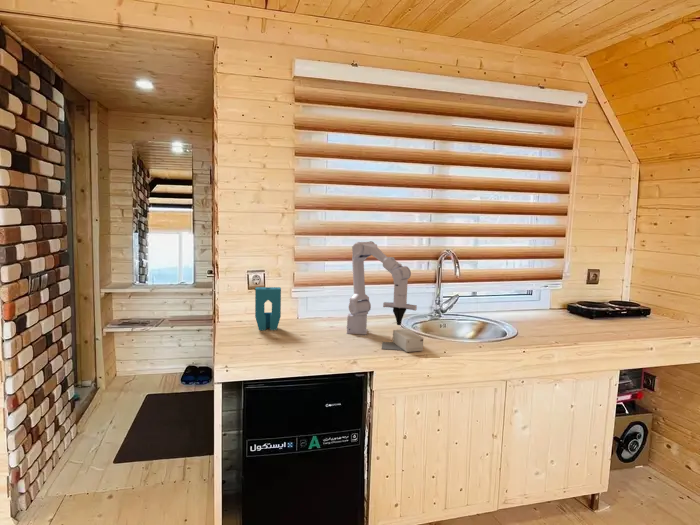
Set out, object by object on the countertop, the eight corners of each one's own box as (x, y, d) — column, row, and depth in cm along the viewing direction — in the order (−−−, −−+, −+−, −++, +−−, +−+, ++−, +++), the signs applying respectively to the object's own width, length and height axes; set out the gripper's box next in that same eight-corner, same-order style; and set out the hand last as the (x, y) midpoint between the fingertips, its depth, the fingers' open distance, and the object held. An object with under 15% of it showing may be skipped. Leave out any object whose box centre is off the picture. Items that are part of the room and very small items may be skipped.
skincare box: (392, 341, 207) (405, 353, 193) (392, 329, 206) (405, 339, 192) (409, 340, 209) (423, 351, 195) (410, 328, 209) (424, 338, 194)
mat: (381, 349, 197) (381, 348, 197) (382, 342, 207) (382, 341, 207) (414, 351, 196) (414, 350, 196) (413, 344, 205) (413, 343, 205)
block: (280, 327, 226) (280, 287, 224) (280, 330, 221) (280, 289, 219) (255, 327, 224) (255, 287, 222) (255, 330, 219) (255, 289, 217)
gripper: (418, 294, 202) (416, 324, 204) (386, 291, 206) (385, 320, 208) (415, 297, 195) (414, 328, 197) (382, 294, 200) (381, 324, 201)
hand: (398, 324), depth 202 cm, fingers closed
